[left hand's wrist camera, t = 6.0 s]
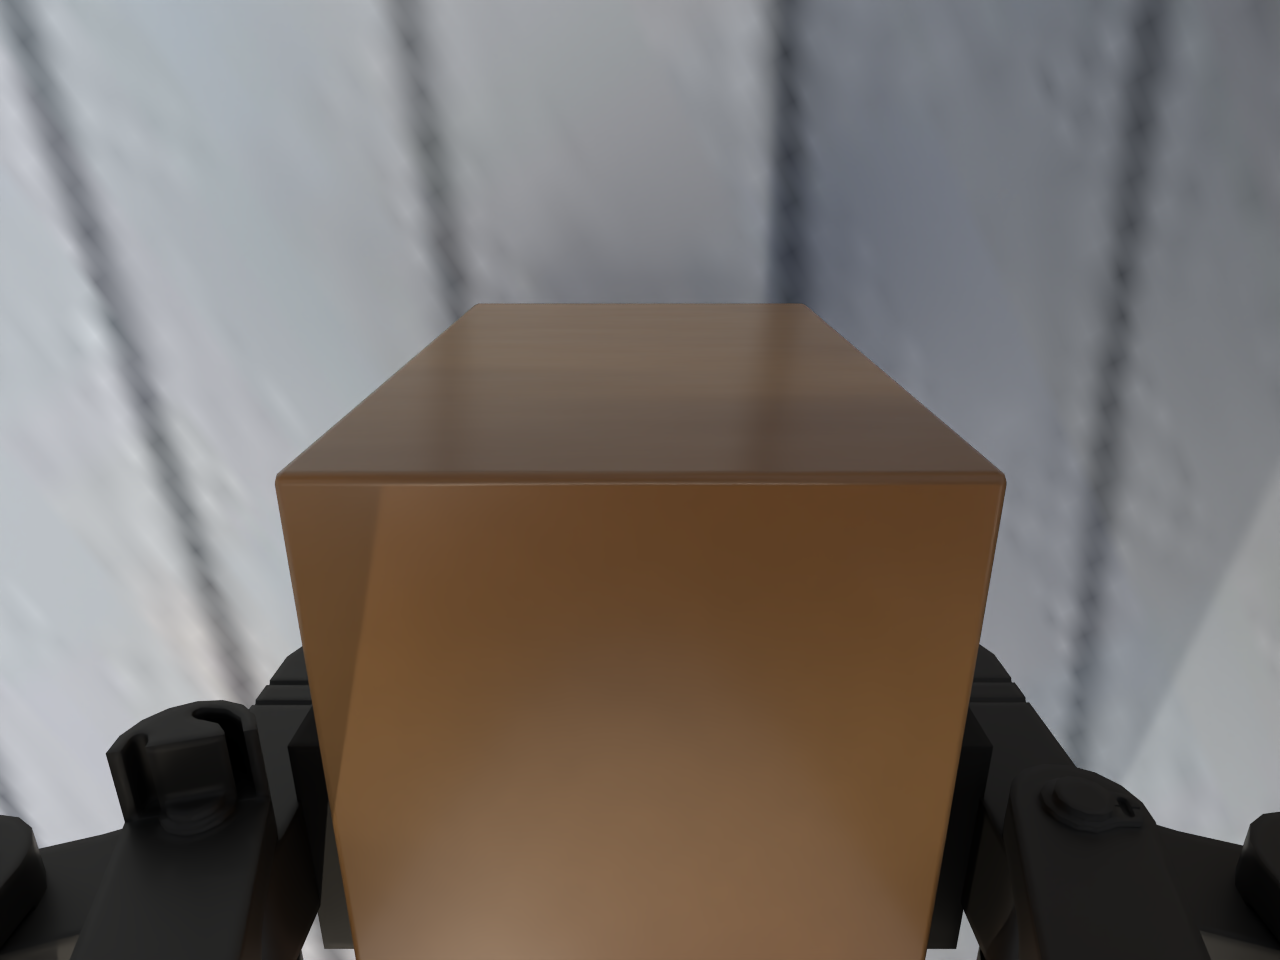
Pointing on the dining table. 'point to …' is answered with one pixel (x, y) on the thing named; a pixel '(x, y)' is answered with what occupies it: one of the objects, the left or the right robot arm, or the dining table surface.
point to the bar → (640, 638)
